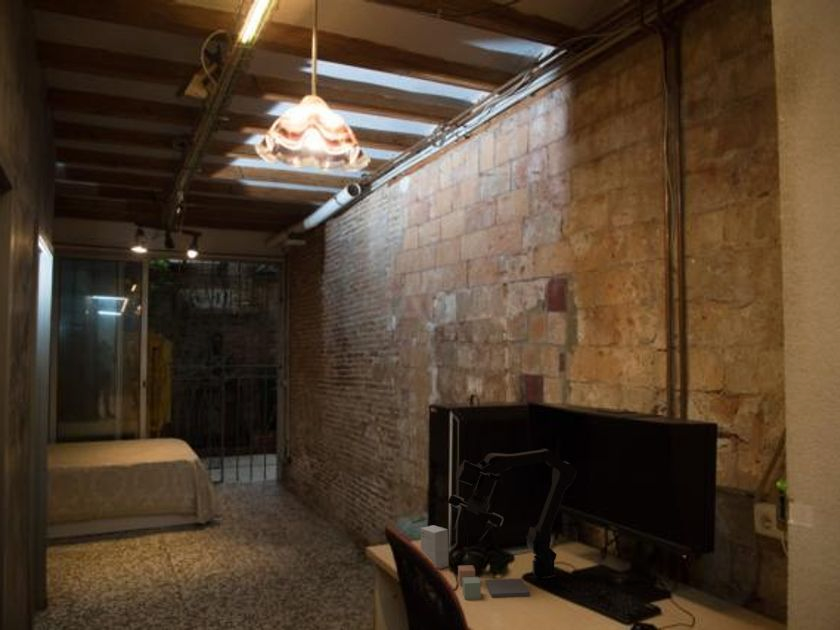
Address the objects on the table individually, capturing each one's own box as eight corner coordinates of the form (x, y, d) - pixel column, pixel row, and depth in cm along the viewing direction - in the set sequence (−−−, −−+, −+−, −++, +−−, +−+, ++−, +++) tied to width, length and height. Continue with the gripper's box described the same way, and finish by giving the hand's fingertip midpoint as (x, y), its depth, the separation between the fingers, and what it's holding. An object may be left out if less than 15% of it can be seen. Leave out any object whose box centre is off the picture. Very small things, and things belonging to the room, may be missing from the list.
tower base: (521, 582, 213) (521, 578, 213) (529, 596, 201) (529, 592, 202) (485, 583, 213) (485, 579, 213) (491, 597, 201) (491, 593, 201)
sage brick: (478, 593, 205) (478, 577, 205) (480, 599, 200) (480, 582, 200) (462, 593, 205) (462, 577, 205) (464, 599, 200) (464, 583, 200)
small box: (448, 566, 229) (448, 529, 230) (435, 570, 225) (434, 532, 226) (434, 560, 236) (433, 524, 236) (420, 564, 232) (420, 527, 232)
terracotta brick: (473, 580, 216) (472, 565, 216) (475, 586, 211) (475, 570, 211) (458, 581, 216) (458, 565, 216) (460, 586, 211) (459, 571, 211)
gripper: (453, 479, 212) (435, 524, 210) (506, 503, 206) (488, 550, 204) (460, 478, 223) (443, 521, 221) (510, 501, 217) (493, 546, 215)
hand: (466, 534), depth 215 cm, fingers open, 9 cm apart
